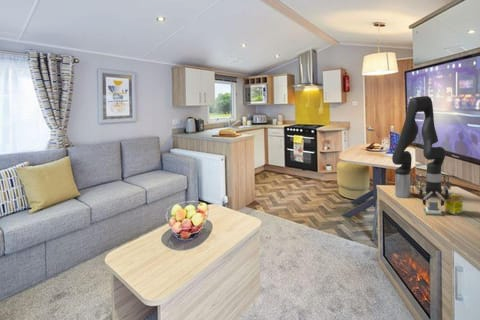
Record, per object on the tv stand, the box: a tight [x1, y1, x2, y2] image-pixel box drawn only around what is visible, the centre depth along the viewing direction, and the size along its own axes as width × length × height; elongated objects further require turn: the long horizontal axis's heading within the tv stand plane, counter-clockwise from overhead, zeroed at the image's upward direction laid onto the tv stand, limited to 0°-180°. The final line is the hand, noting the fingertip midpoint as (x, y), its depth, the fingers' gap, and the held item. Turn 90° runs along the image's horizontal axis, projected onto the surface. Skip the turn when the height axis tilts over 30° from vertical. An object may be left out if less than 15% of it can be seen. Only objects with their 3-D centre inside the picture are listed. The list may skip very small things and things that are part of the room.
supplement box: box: [444, 193, 464, 216], centre depth 160 cm, size 6×6×11 cm
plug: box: [427, 198, 439, 211], centre depth 163 cm, size 4×4×7 cm
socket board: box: [423, 206, 444, 217], centre depth 164 cm, size 8×8×2 cm
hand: (433, 205), depth 163 cm, fingers open, 8 cm apart
